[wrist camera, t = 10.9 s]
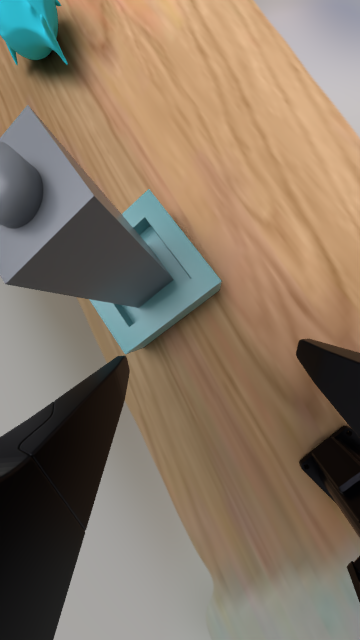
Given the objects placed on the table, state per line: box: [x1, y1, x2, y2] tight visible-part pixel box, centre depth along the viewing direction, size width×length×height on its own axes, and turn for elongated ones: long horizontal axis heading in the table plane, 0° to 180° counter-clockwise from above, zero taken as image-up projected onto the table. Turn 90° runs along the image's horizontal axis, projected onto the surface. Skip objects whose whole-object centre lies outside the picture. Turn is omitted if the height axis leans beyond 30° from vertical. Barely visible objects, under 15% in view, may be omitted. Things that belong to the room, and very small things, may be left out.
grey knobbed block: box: [0, 105, 174, 308], centre depth 12 cm, size 5×5×13 cm
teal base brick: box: [89, 189, 222, 354], centre depth 19 cm, size 12×12×4 cm
